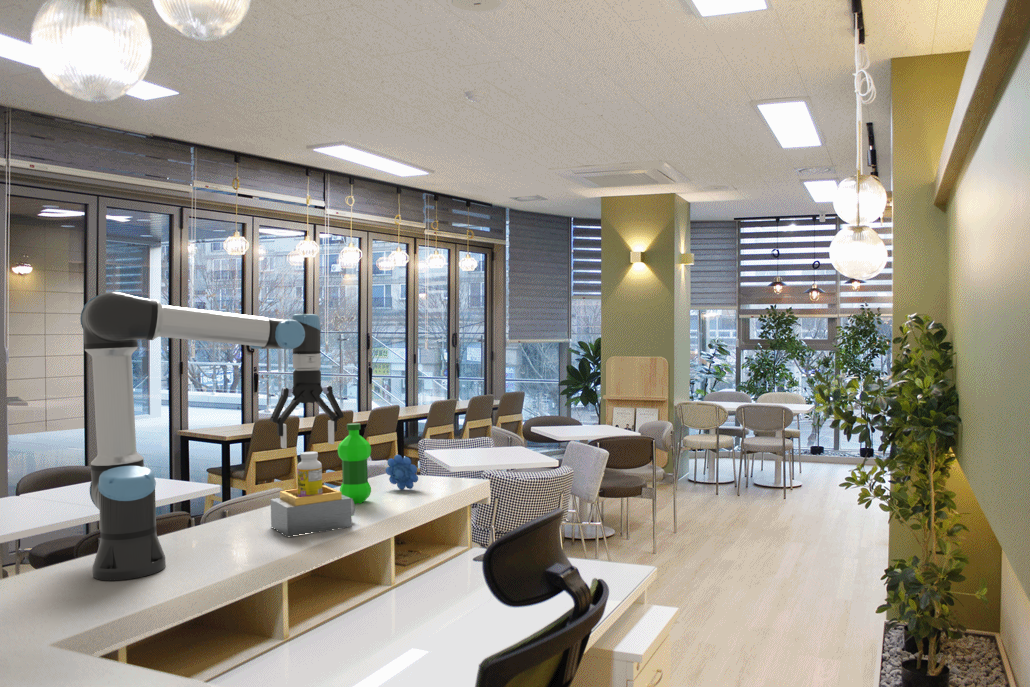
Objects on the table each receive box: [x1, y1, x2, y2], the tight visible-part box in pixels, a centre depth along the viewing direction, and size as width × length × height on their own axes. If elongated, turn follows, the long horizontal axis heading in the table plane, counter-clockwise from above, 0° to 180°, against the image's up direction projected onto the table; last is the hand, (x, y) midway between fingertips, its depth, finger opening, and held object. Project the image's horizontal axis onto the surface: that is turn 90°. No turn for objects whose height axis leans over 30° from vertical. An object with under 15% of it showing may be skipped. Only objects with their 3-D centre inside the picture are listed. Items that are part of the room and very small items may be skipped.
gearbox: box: [270, 484, 356, 537], centre depth 222 cm, size 21×14×10 cm, turn 124°
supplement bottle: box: [296, 451, 323, 497], centre depth 221 cm, size 7×7×13 cm
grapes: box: [385, 454, 419, 491], centre depth 271 cm, size 12×7×12 cm, turn 78°
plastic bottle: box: [337, 422, 372, 505], centre depth 253 cm, size 10×10×25 cm
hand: (307, 445), depth 221 cm, fingers open, 13 cm apart
